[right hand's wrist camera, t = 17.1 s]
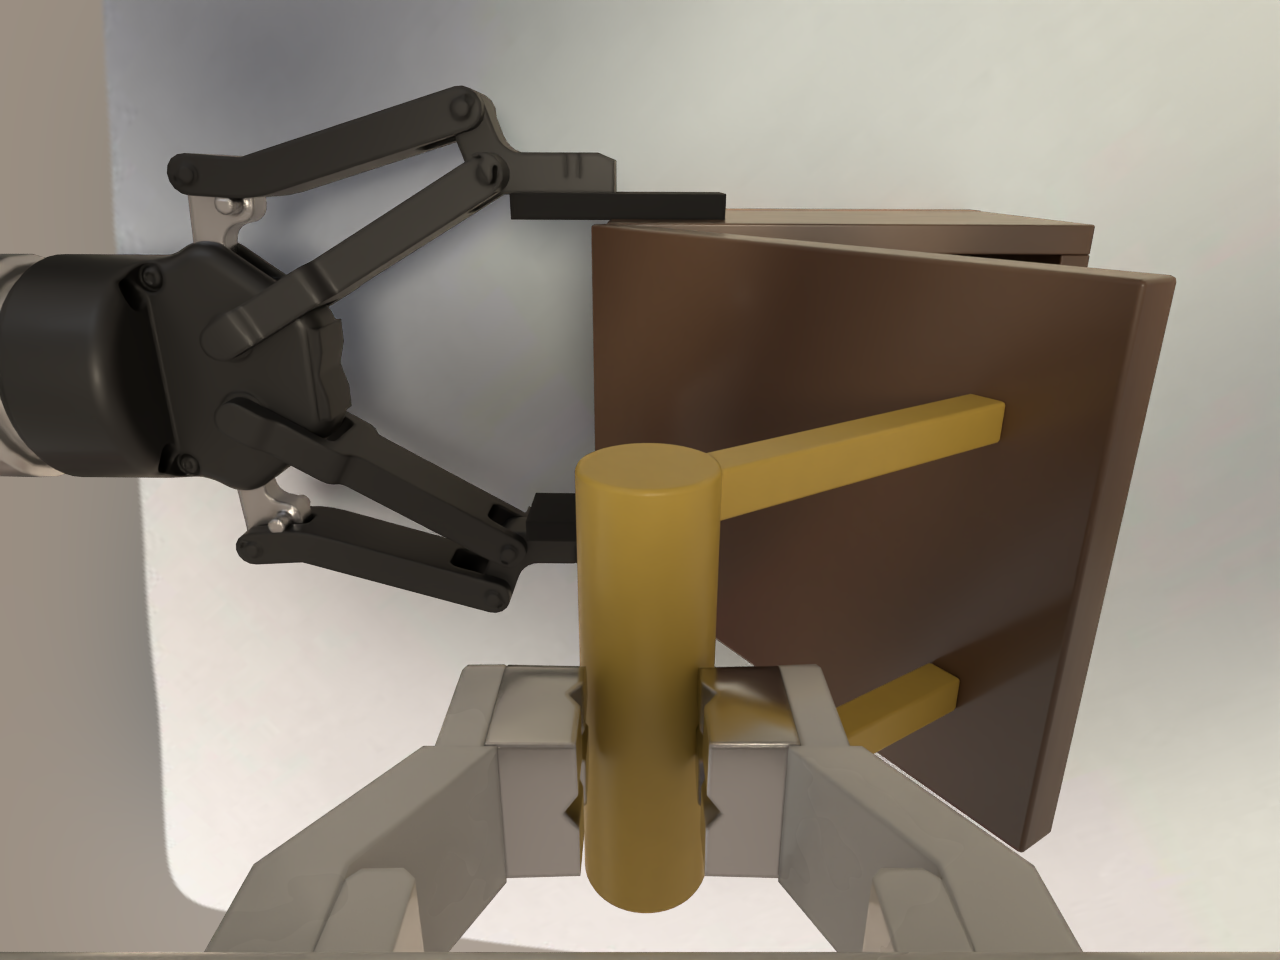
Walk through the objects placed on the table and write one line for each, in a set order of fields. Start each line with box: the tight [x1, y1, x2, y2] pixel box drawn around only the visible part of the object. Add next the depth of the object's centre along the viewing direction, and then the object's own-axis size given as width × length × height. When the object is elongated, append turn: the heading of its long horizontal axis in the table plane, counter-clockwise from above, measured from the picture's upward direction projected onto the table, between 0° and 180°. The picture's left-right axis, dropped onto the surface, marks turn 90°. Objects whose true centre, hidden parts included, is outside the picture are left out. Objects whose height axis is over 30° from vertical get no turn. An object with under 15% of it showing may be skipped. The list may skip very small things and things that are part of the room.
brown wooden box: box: [607, 209, 1095, 267], centre depth 29 cm, size 14×10×10 cm
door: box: [575, 224, 1176, 913], centre depth 17 cm, size 15×10×9 cm
